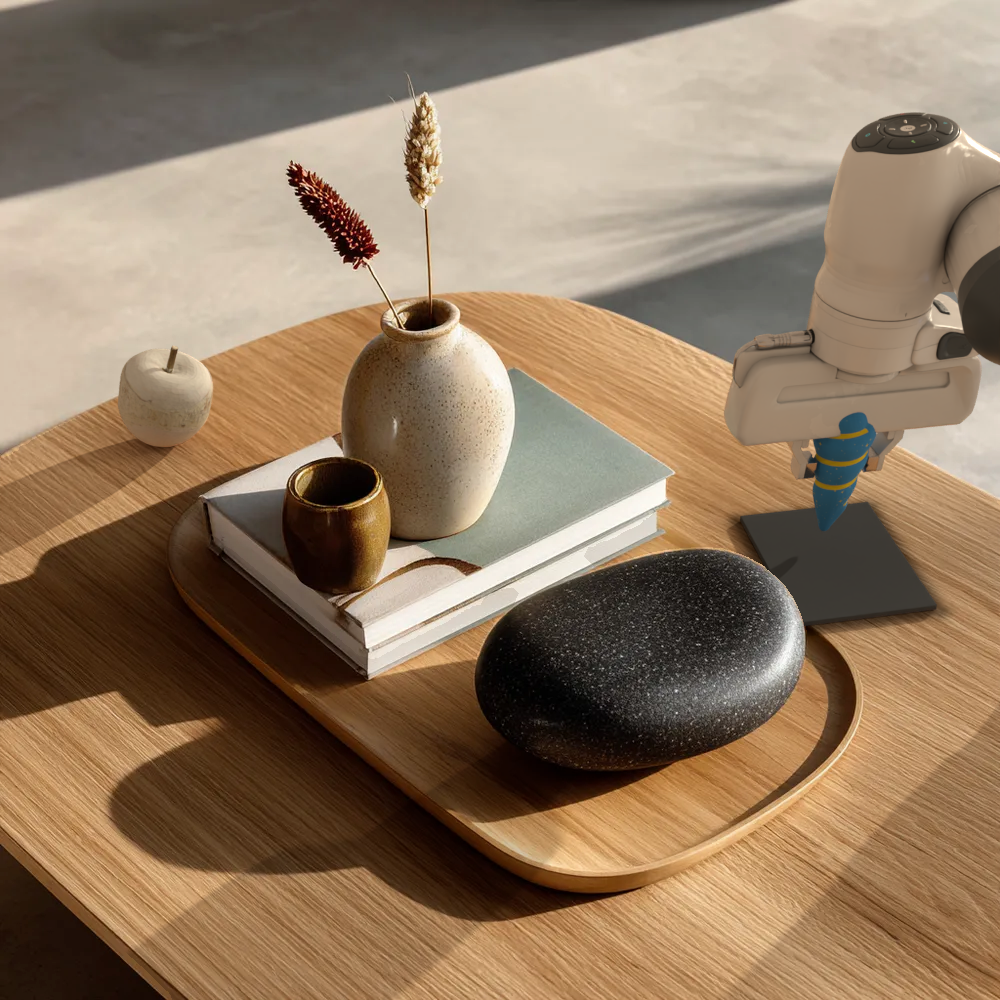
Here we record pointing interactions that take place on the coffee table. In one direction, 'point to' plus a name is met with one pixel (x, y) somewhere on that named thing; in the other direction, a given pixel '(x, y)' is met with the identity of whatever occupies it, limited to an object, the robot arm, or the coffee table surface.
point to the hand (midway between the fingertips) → (835, 471)
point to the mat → (837, 564)
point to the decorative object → (164, 396)
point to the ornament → (840, 466)
